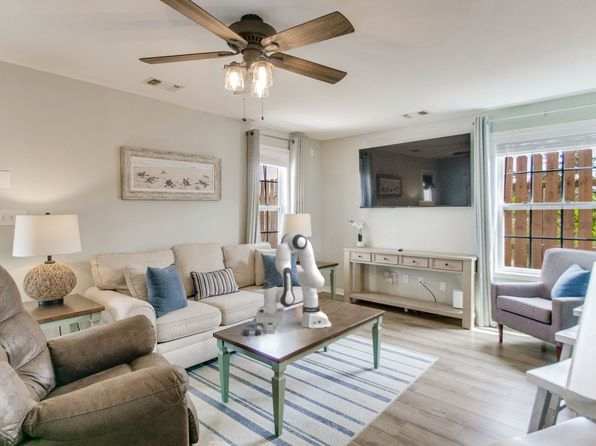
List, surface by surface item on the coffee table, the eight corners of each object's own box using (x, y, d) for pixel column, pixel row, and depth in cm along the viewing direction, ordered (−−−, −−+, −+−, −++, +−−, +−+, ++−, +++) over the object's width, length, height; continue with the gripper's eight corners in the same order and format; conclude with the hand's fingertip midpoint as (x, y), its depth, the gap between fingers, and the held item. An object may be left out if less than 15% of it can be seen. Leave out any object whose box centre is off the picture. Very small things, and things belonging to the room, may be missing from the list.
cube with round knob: (273, 331, 234) (273, 321, 233) (273, 333, 229) (273, 323, 228) (266, 331, 233) (266, 321, 233) (266, 334, 228) (266, 323, 228)
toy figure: (266, 329, 237) (266, 308, 237) (251, 328, 239) (251, 307, 239) (272, 322, 253) (272, 302, 253) (259, 321, 255) (259, 302, 255)
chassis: (261, 330, 236) (261, 323, 236) (261, 335, 225) (261, 329, 225) (244, 330, 236) (244, 323, 235) (243, 336, 224) (243, 329, 224)
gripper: (285, 307, 234) (285, 327, 235) (255, 307, 233) (255, 327, 233) (285, 310, 228) (285, 330, 228) (255, 310, 227) (255, 330, 227)
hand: (270, 328), depth 231 cm, fingers closed on cube with round knob, 5 cm apart
